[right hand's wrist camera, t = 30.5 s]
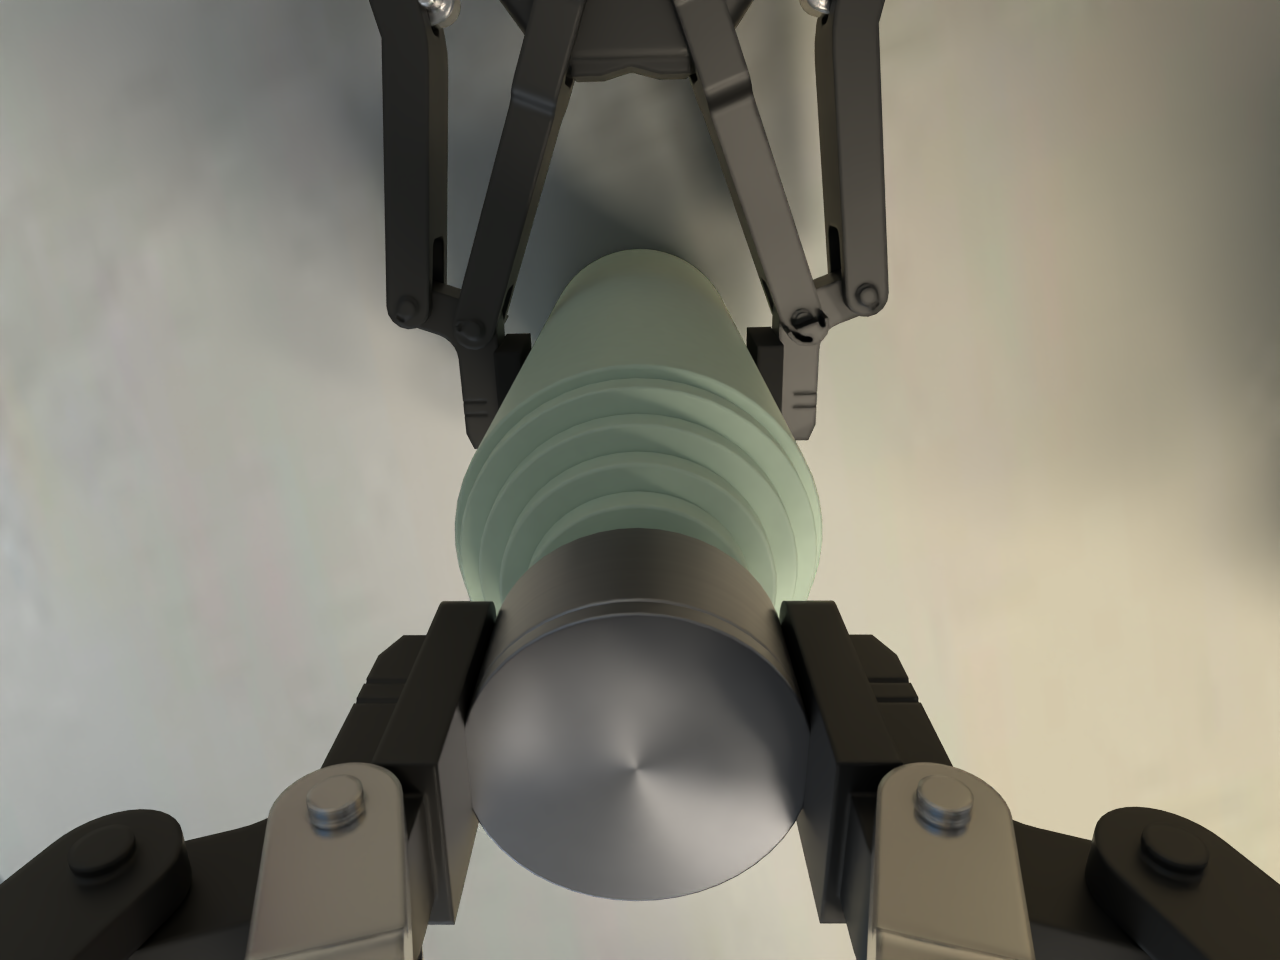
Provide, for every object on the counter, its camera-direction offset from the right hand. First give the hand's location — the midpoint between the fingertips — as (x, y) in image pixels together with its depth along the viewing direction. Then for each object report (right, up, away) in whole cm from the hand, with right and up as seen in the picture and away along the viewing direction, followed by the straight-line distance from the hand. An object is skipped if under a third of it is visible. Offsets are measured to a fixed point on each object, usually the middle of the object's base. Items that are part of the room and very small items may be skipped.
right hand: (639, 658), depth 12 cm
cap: (0, -1, -2) cm, 2 cm away
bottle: (0, +8, +20) cm, 22 cm away
